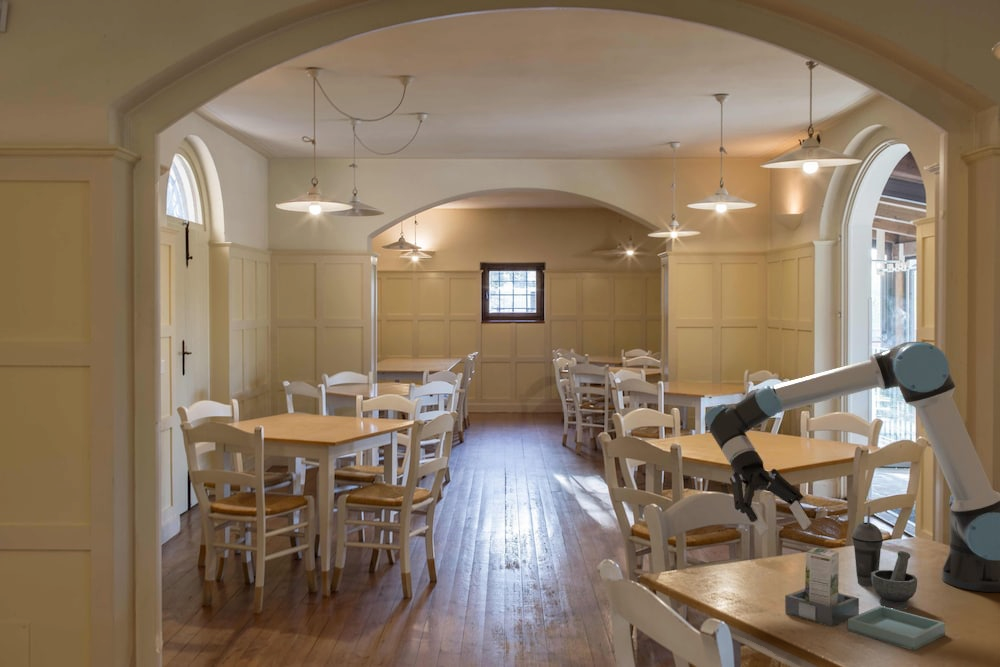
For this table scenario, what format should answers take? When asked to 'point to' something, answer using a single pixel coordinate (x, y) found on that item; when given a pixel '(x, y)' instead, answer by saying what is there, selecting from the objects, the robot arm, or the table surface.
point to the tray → (896, 627)
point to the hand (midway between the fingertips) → (786, 529)
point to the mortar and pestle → (895, 584)
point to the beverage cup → (867, 550)
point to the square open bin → (822, 608)
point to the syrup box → (822, 576)
